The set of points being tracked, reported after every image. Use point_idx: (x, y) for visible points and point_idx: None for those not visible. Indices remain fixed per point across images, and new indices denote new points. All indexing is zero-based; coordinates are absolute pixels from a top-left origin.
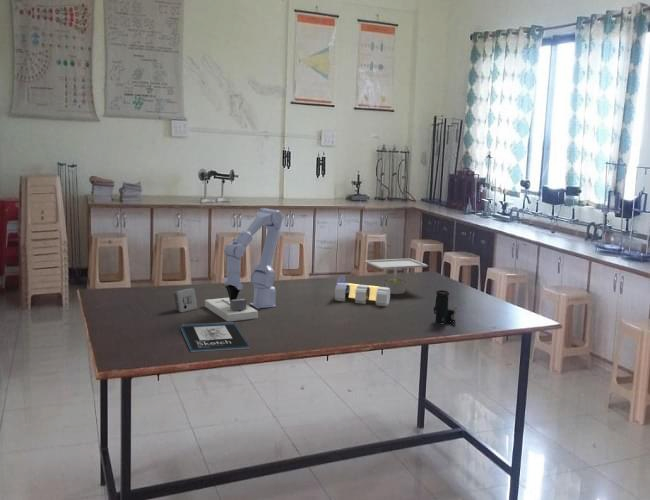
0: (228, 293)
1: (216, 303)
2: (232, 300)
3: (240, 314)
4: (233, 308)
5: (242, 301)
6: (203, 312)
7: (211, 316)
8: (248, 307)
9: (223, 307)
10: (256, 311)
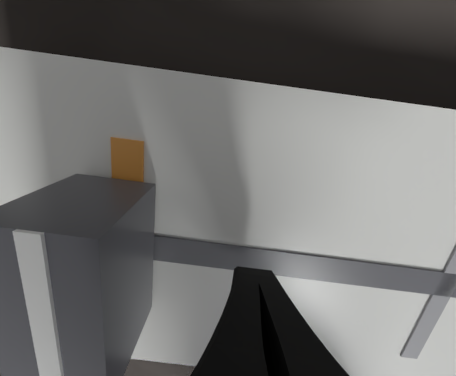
0: (333, 373)
1: (448, 178)
2: (16, 239)
3: (6, 196)
4: (58, 185)
5: (7, 345)
6: (422, 3)
7: (253, 5)
8: (155, 342)
9: (265, 162)
10: None
